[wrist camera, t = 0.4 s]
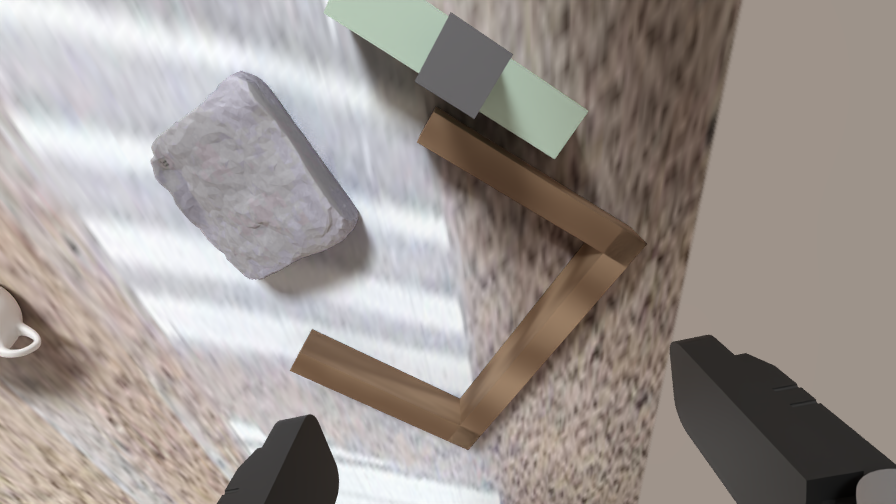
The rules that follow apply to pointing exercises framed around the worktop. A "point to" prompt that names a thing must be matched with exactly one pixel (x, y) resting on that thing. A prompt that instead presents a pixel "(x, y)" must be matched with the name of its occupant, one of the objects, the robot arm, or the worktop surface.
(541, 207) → the wooden u-shaped frame
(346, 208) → the stone block
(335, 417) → the worktop surface
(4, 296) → the teacup
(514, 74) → the board
